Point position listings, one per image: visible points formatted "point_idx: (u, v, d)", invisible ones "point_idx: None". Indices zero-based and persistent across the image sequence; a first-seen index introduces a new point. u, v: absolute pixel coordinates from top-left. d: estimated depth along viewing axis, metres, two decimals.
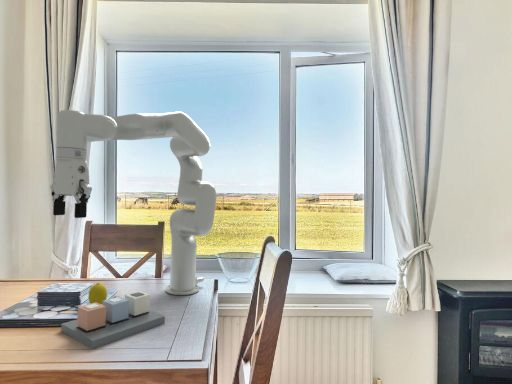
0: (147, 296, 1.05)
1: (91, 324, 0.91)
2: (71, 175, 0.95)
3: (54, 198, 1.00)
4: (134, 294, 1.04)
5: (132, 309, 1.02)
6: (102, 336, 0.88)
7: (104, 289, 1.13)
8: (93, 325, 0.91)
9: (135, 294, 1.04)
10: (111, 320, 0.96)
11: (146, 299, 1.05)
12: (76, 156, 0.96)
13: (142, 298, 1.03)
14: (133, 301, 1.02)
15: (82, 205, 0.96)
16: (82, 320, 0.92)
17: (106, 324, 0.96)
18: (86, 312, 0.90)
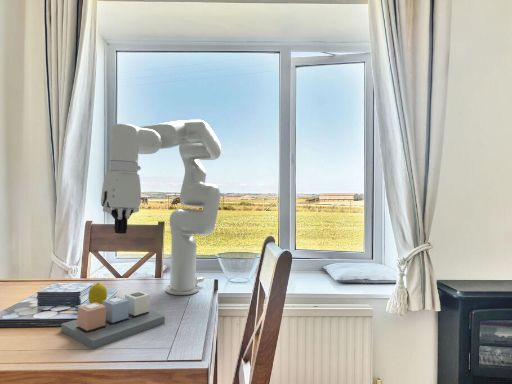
0: (147, 296, 1.05)
1: (91, 324, 0.91)
2: (138, 188, 1.01)
3: (120, 216, 0.98)
4: (134, 294, 1.04)
5: (132, 309, 1.02)
6: (102, 336, 0.88)
7: (104, 289, 1.13)
8: (93, 325, 0.91)
9: (135, 294, 1.04)
10: (111, 320, 0.96)
11: (146, 299, 1.05)
12: None
13: (142, 298, 1.03)
14: (133, 301, 1.02)
15: None
16: (82, 320, 0.92)
17: (106, 324, 0.96)
18: (86, 312, 0.90)
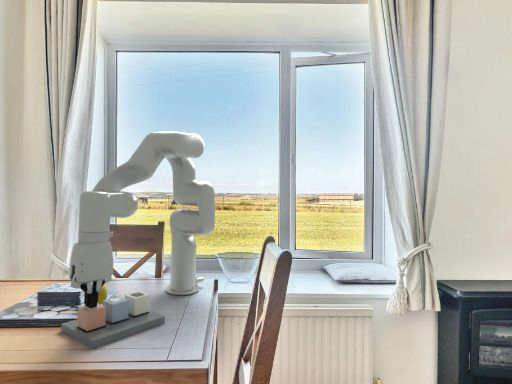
0: (147, 296, 1.05)
1: (91, 324, 0.91)
2: (110, 258, 0.95)
3: (90, 289, 0.91)
4: (134, 294, 1.04)
5: (132, 309, 1.02)
6: (102, 336, 0.88)
7: (104, 289, 1.13)
8: (93, 325, 0.91)
9: (135, 294, 1.04)
10: (111, 320, 0.96)
11: (146, 299, 1.05)
12: None
13: (142, 298, 1.03)
14: (133, 301, 1.02)
15: None
16: (82, 320, 0.92)
17: (106, 324, 0.96)
18: (86, 312, 0.90)
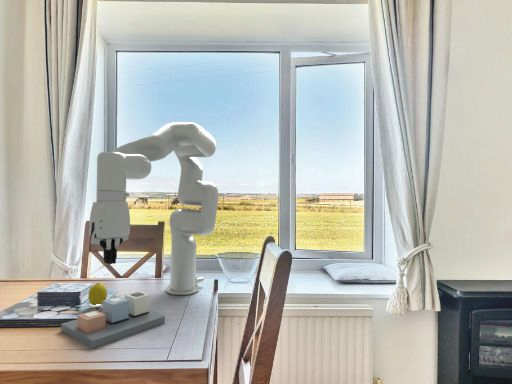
0: (147, 296, 1.05)
1: None
2: (127, 217, 0.98)
3: (109, 246, 0.95)
4: (134, 294, 1.04)
5: (132, 309, 1.02)
6: (102, 336, 0.88)
7: (104, 289, 1.13)
8: None
9: (135, 294, 1.04)
10: (111, 320, 0.96)
11: (146, 299, 1.05)
12: None
13: (142, 298, 1.03)
14: (133, 301, 1.02)
15: None
16: (81, 329, 0.92)
17: (106, 324, 0.96)
18: (86, 321, 0.90)
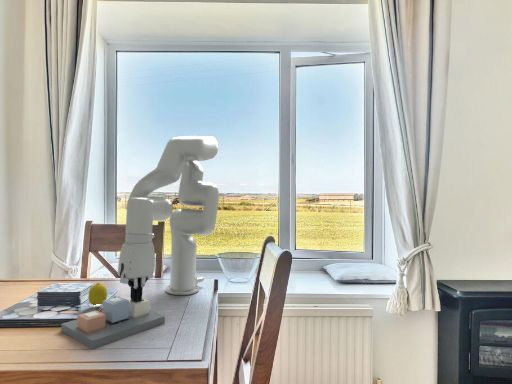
0: (147, 302, 1.05)
1: None
2: (152, 257, 1.06)
3: (136, 285, 1.03)
4: None
5: (132, 315, 1.02)
6: (102, 336, 0.88)
7: (104, 289, 1.13)
8: None
9: None
10: (111, 320, 0.96)
11: (146, 305, 1.05)
12: None
13: (142, 304, 1.03)
14: (133, 307, 1.02)
15: None
16: (81, 329, 0.92)
17: (106, 324, 0.96)
18: (86, 321, 0.90)
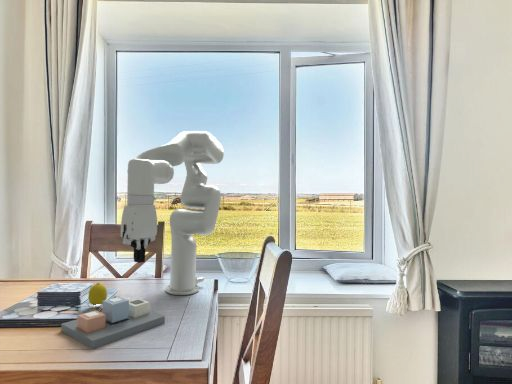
0: (147, 303, 1.05)
1: None
2: (154, 219, 1.06)
3: (139, 246, 1.03)
4: (134, 301, 1.04)
5: (132, 316, 1.02)
6: (102, 336, 0.88)
7: (104, 289, 1.13)
8: None
9: (135, 301, 1.04)
10: (111, 320, 0.96)
11: (146, 306, 1.05)
12: None
13: (142, 306, 1.03)
14: (133, 309, 1.02)
15: None
16: (81, 329, 0.92)
17: (106, 324, 0.96)
18: (86, 321, 0.90)
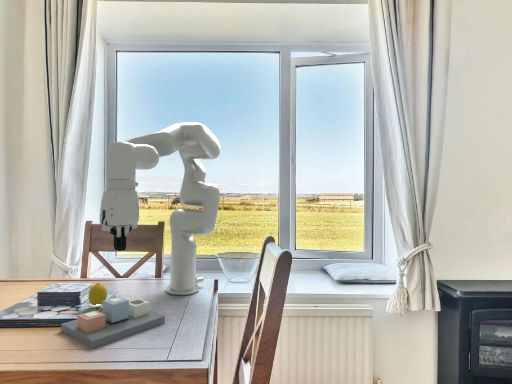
0: (147, 303, 1.05)
1: None
2: (136, 205, 1.01)
3: (119, 233, 0.98)
4: (134, 301, 1.04)
5: (132, 316, 1.02)
6: (102, 336, 0.88)
7: (104, 289, 1.13)
8: None
9: (135, 301, 1.04)
10: (111, 320, 0.96)
11: (146, 306, 1.05)
12: None
13: (142, 306, 1.03)
14: (133, 309, 1.02)
15: None
16: (81, 329, 0.92)
17: (106, 324, 0.96)
18: (86, 321, 0.90)
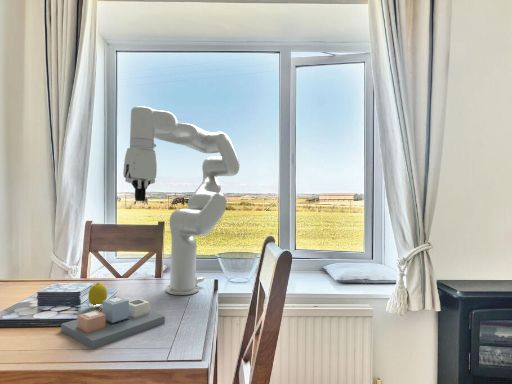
0: (147, 303, 1.05)
1: None
2: (154, 163, 1.17)
3: (140, 185, 1.14)
4: (134, 301, 1.04)
5: (132, 316, 1.02)
6: (102, 336, 0.88)
7: (104, 289, 1.13)
8: None
9: (135, 301, 1.04)
10: (111, 320, 0.96)
11: (146, 306, 1.05)
12: None
13: (142, 306, 1.03)
14: (133, 309, 1.02)
15: None
16: (81, 329, 0.92)
17: (106, 324, 0.96)
18: (86, 321, 0.90)
